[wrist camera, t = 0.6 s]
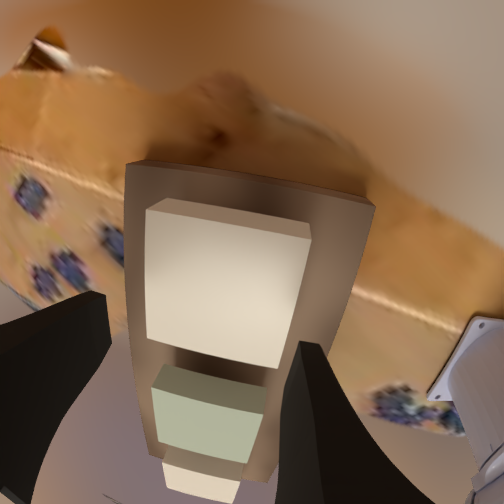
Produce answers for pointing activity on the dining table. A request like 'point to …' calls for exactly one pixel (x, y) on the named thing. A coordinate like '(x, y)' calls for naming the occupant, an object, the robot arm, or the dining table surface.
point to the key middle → (207, 413)
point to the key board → (309, 297)
